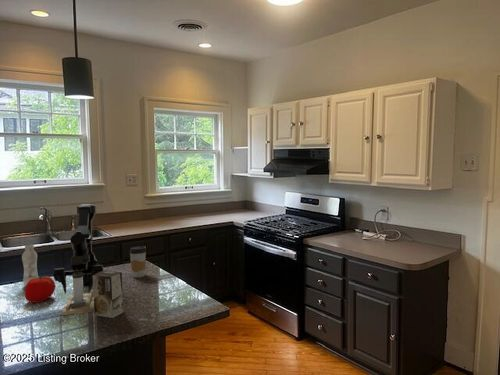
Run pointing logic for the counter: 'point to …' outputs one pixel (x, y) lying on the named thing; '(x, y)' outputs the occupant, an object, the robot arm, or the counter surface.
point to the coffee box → (108, 294)
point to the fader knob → (78, 290)
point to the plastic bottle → (29, 263)
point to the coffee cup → (138, 261)
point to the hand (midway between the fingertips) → (77, 291)
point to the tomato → (39, 289)
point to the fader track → (79, 309)
